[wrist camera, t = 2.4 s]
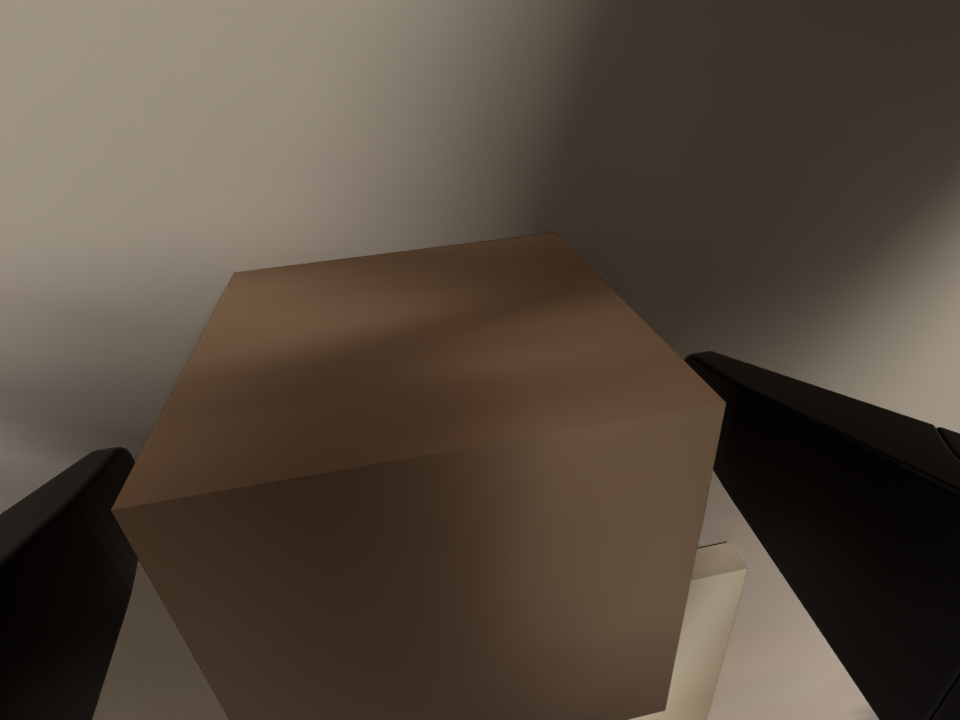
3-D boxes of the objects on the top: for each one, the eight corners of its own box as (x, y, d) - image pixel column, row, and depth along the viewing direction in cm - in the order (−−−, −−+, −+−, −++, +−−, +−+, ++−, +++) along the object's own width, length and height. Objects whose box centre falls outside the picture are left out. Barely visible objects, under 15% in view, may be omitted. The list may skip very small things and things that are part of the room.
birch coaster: (728, 542, 14) (748, 568, 13) (681, 742, 19) (693, 769, 18) (320, 627, 13) (318, 660, 12) (387, 818, 18) (389, 848, 17)
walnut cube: (553, 230, 9) (726, 401, 5) (552, 464, 12) (665, 710, 7) (235, 270, 8) (111, 510, 4) (308, 508, 11) (277, 805, 7)
